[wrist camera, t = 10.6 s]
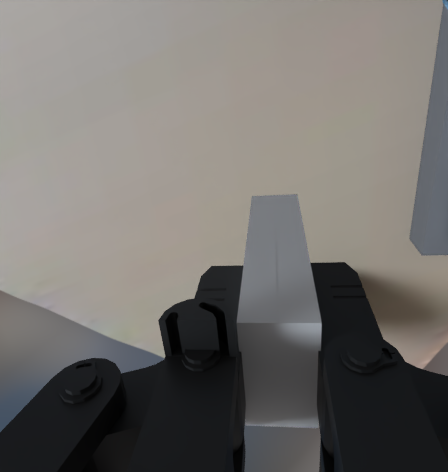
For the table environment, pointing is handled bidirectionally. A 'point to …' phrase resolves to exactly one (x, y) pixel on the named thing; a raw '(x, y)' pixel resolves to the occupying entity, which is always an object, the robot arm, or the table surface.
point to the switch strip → (434, 161)
